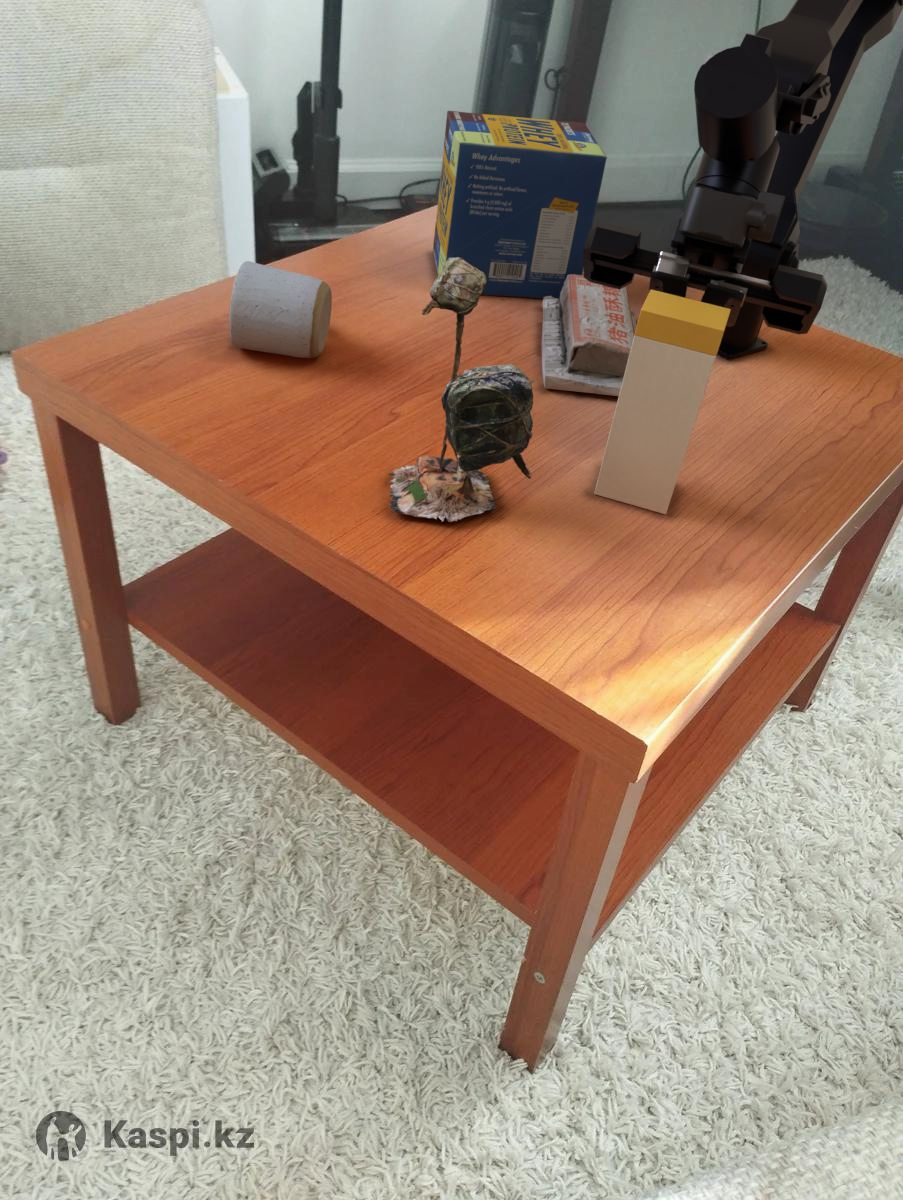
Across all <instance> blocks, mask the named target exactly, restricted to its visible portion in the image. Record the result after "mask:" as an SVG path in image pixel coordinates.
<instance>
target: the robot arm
mask: <svg viewBox="0 0 903 1200" xmlns="http://www.w3.org/2000/svg"><path fill="white" fill-rule="evenodd" d="M902 12H903V0H796V1H795V2H794V4H793V5H792V7H790V10H789V11H788V13H787V14H786V15H785V17H784V18H783V19H782V20H780V21H776V22H774V23H771V24H767V25H765V26H762V27H761V28H759V29H758V30H757V31H756V32H755V33H754V34H751V33H746V34H745V35H744V37H743V39H742V41H741V43H740V45H739V46H732V47H729V48H725V49H723V50H721V51H719V52H717V53H716V54H714V55H712V56H711V57H710V58H709V59H708V60H706V62H705V63H703V64H702V65H700V67H699V69H698V70H697V73H696V76H695V79H694V85H693V87H694V88H693V91H694V93H693V94H694V104H695V115H696V126H697V127H696V128H697V138H698V145H699V147H701V148H702V151H703V153H702V156H701V158H700V163H699V166H698V169H697V171H696V175H695V178H694V182H693V184H692V186H691V187H690V189H689V192H688V196H687V198H686V201H685V206H684V207H683V208H682V210H681V211H680V213H679V216H678V218H677V221H676V225H675V229H674V231H673V235H672V238H671V243H670V247H671V248H672V249H671V252H667V251H663V250H661V251H659V252H655V251H652V250H647V249H644V248H641V237H642V231H641V230H638V229H637V230H636V229H632V228H628V227H625V226H624V227H623V226H620V225H615V224H612V223H607V222H603V221H599V222H598V223H596V224H595V225H594V226H592V228H591V229H590V231H589V233H588V236H587V239H586V243H585V246H584V249H583V262H584V268H583V275H584V278H585V279H587V280H588V281H590V282H592V283H596V284H600V285H604V286H608V287H612V288H616V289H622V288H624V287H627V286H629V285H631V284H632V282H633V280H634V278H635V275H638V276H642V277H645V278H649V284H648V285H649V286H648V292H647V295H648V294H649V292H650V290H655V291H660V292H664V293H668V294H672V295H676V296H680V297H684V298H687V291H688V288H690V289H694V290H699V291H702V292H703V294H702V297H701V299H700V302H704V303H708V304H712V305H716V306H720V307H724V308H728V309H731V311H730V314H729V317H728V321H727V324H726V327H725V330H724V333H723V336H722V340H721V343H720V346H719V349H718V352H717V355H719V356H722V357H723V358H725V359H727V360H731V359H735V358H739V357H743V356H746V355H750V354H752V353H757V352H759V351H764V350H767V349H768V346H769V342H767V341H765V340H764V339H762V338H760V337H759V334H760V332H761V328H762V325H763V323H765V325H766V326H767V327H768V328H771V329H775V330H779V331H783V332H788V333H791V334H795V335H806V334H808V333H809V331H810V330H811V327H812V326H813V324H814V322H815V320H816V318H817V316H818V314H819V313H820V311H821V310H822V306H823V304H824V300H825V296H826V293H827V290H828V283H827V280H826V279H825V276H824V274H821V273H816V272H812V271H807V270H804V269H800V260H799V253H800V244H799V243H798V240H799V238H800V234H801V230H800V229H801V228H800V222H799V211H798V200H799V198H800V196H801V193H802V191H803V189H804V187H805V184H806V182H807V180H808V178H809V175H810V174H811V171H812V169H813V167H814V165H815V162H816V160H817V158H818V155H819V154H820V152H821V149H822V147H823V145H824V142H825V140H826V138H827V136H828V134H829V131H830V129H831V127H832V124H833V122H834V120H835V117H836V116H837V113H838V111H839V109H840V106H841V104H842V102H843V100H844V98H845V96H846V94H847V91H848V89H849V87H850V84H851V82H852V80H853V78H854V75H855V73H856V72H857V69H858V66H859V64H860V62H861V59H862V58H863V56H864V54H865V53H866V52H868V50H870V49H871V48H872V47H874V46H875V45H877V44H878V43H879V42H880V41H882V39H884V38H885V37H887V36H888V35H890V34H891V33H892V31H893V29H894V27H896V24H897V21H898V20H899V18H900V16H901V13H902Z"/></svg>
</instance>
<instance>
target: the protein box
mask: <svg viewBox="0 0 903 1200" xmlns="http://www.w3.org/2000/svg"><path fill="white" fill-rule="evenodd" d="M607 159H608V156H607V155H606V154H605V151H603V149H602V147H601V146H600V145H599V143H598V142H597V140H596V138H595V137H594V135H593V134H592V132H591V131H590V129H589V127H588V126H587V124H586V123H585V122H580V121H567V120H566V121H565V120H554V119H542V118H534V117H533V118H531V117H521V116H520V117H519V116H511V115H500V114H486V113H475V112H467V111H457V110H447V112H446V122H445V131H444V140H443V151H442V161H441V170H440V181H439V189H438V190H439V191H438V197H437V198H438V200H437V208H436V217H435V227H434V236H433V247H432V255H433V259H434V264H435V270H436V274H437V277H438V276H439V275H440V274H441V273H442V270H443V267H444V265H445V262H446V261H447V259H448V258H450V257H453V258H455V257H459V258H462V259H463V260H465V261H466V262H468V263H469V264H470V265H472V266H473V267H476V268H477V269H478V270H480V271H481V272H483V273H484V274H485V276H486V284H485V287H484V290H483V291H482V293H481V294H480V296H481V295H483V296H495V297H496V296H497V297H498V296H499V297H511V298H513V297H515V298H526V299H527V298H528V299H542V300H543V297H546V296H552V297H553V298H557V299H558V298H559V297H560V293H561V290H562V287H563V286H564V281H565V280H566V278H567V275H570V274H575V275H583V274H584V262H583V249H584V246H585V243H586V239H587V236H588V233H589V231H590V229H591V228H592V227H594V226H593V225H594V220H595V215H596V211H597V206H598V201H599V197H600V192H601V187H602V183H603V178H604V173H605V167H606V164H607V163H606V162H607Z"/></svg>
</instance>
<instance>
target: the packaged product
mask: <svg viewBox="0 0 903 1200" xmlns="http://www.w3.org/2000/svg"><path fill="white" fill-rule="evenodd" d="M628 292H629V291H628V289H627V286H625V287H624V288H622V289H616V288H612V287H608V286H604V285H600V284H596V283H592V282H590V281H588V280H587V279H585V278H584V274H582V275H575V274H570V275H567V278H566V280H565V281H564V286H563V287H562V290H561V293H560V297H559V298H558V299H557V298H553V297H552V296H546V297H543V299H542V303H541V305H542V329H541V368H542V369H541V370H542V381H543V388H544V389H546V390H547V389H549V390H559V391H568V392H579V393H586V394H587V393H588V394H594V395H595V394H596V395H605V396H614V397H619V393H620V389H621V386H622V382H623V378H624V374H625V370H626V366H627V362H628V358H629V354H630V350H631V346H632V342H633V338H634V335H635V331H636V327H637V320H636V315H635V311H634V310H632V309H631V304H630V298H629V294H628Z"/></svg>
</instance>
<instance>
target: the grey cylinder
mask: <svg viewBox="0 0 903 1200" xmlns="http://www.w3.org/2000/svg"><path fill="white" fill-rule="evenodd" d="M332 295H333V294H332V289H331V287H330V285H329V283H327V282H325V281H323V280H321V279H319V278H317V277H314V276H311V275H307V274H303V273H298V272H293V271H290V270H286V269H283V268H282V269H281V268H279V267H278V268H277V267H274V266H269V265H266V264H261V263H257V262H254V261H250V260H248V261H247V260H246V261H243V263H241V265H240V266H239V268H238V271H237V273H236V275H235V278H234V281H233V285H232V292H231V296H230V305H229V325H228V326H229V327H228V328H229V335H230V342H231V344H232V346H234V347H235V348H237V349H243V350H251V351H256V352H262V353H269V354H275V355H283V356H288V357H293V358H299V359H300V358H301V359H314V358H317V357H318V356H320V355H321V354H322V352H323V350H324V348H325V345H326V342H327V337H328V334H329V329H330V325H331V324H330V323H331V315H332V304H333V296H332Z"/></svg>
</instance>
